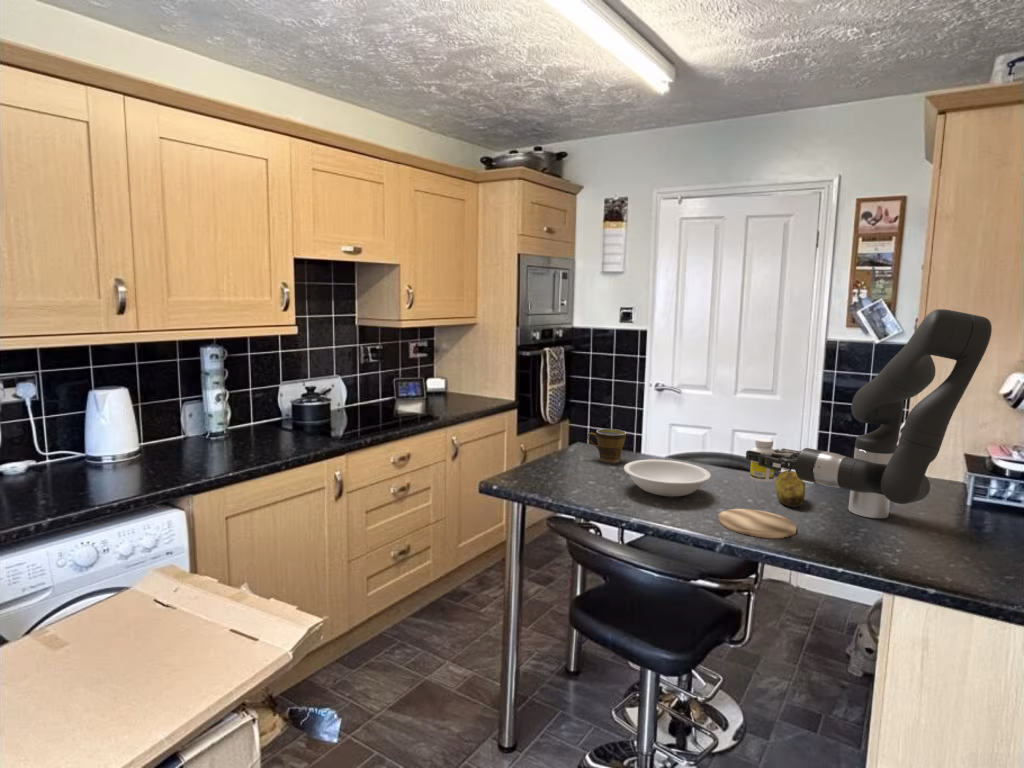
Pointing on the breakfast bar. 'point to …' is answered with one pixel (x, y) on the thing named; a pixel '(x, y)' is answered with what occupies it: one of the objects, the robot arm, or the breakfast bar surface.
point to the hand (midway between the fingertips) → (753, 452)
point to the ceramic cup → (609, 444)
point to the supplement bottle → (758, 471)
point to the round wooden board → (757, 523)
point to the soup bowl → (667, 476)
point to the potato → (790, 489)
